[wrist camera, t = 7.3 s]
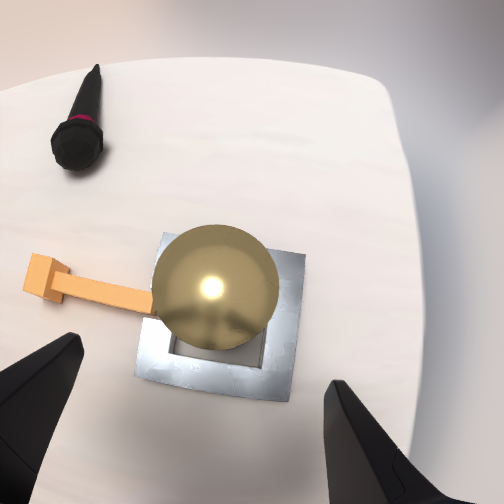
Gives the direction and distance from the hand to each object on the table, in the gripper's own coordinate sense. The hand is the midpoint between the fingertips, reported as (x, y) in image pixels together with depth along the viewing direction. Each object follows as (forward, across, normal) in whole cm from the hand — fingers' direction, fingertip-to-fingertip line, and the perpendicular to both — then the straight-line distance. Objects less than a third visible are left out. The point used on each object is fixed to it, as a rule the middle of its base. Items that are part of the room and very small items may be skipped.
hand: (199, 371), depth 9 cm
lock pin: (+11, +11, +7) cm, 17 cm away
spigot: (+12, 0, +7) cm, 14 cm away
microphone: (+26, +19, -7) cm, 33 cm away
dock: (+12, 0, +7) cm, 14 cm away
